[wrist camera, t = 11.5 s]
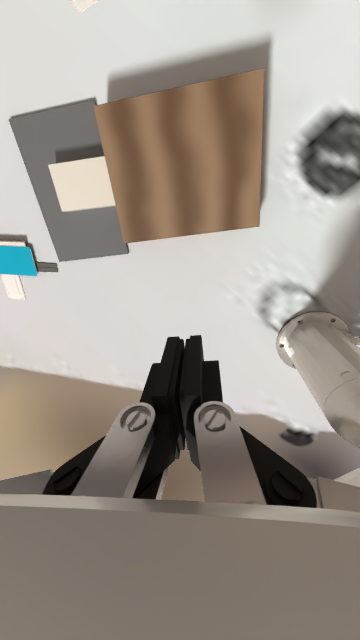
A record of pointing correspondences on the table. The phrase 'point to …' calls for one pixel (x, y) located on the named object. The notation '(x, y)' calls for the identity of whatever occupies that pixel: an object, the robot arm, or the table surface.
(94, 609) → the robot arm
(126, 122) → the platform
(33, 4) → the table surface
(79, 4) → the jar
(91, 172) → the cream flat block
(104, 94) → the table surface
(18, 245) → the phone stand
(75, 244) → the mat
